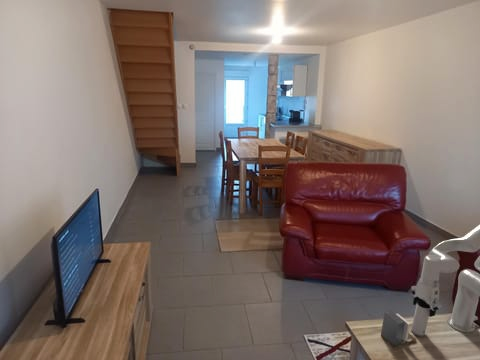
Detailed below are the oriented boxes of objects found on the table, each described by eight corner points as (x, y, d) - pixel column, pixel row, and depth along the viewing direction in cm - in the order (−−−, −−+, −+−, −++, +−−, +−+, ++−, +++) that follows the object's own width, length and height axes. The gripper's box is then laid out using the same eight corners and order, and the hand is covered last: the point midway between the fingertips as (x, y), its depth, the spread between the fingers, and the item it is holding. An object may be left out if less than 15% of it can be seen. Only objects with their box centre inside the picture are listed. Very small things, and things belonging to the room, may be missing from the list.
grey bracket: (401, 329, 179) (406, 306, 175) (416, 341, 171) (421, 317, 167) (380, 335, 174) (384, 312, 170) (394, 348, 166) (398, 323, 162)
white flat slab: (394, 330, 176) (397, 313, 174) (408, 342, 168) (412, 325, 166) (392, 330, 176) (395, 314, 173) (406, 343, 168) (410, 325, 165)
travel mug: (426, 337, 174) (434, 303, 168) (412, 335, 175) (420, 301, 169) (423, 329, 180) (430, 296, 174) (409, 327, 181) (416, 294, 175)
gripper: (450, 288, 162) (444, 319, 167) (420, 269, 178) (415, 298, 183) (439, 291, 160) (432, 322, 165) (409, 272, 175) (404, 301, 180)
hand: (423, 309), depth 174 cm, fingers open, 9 cm apart
